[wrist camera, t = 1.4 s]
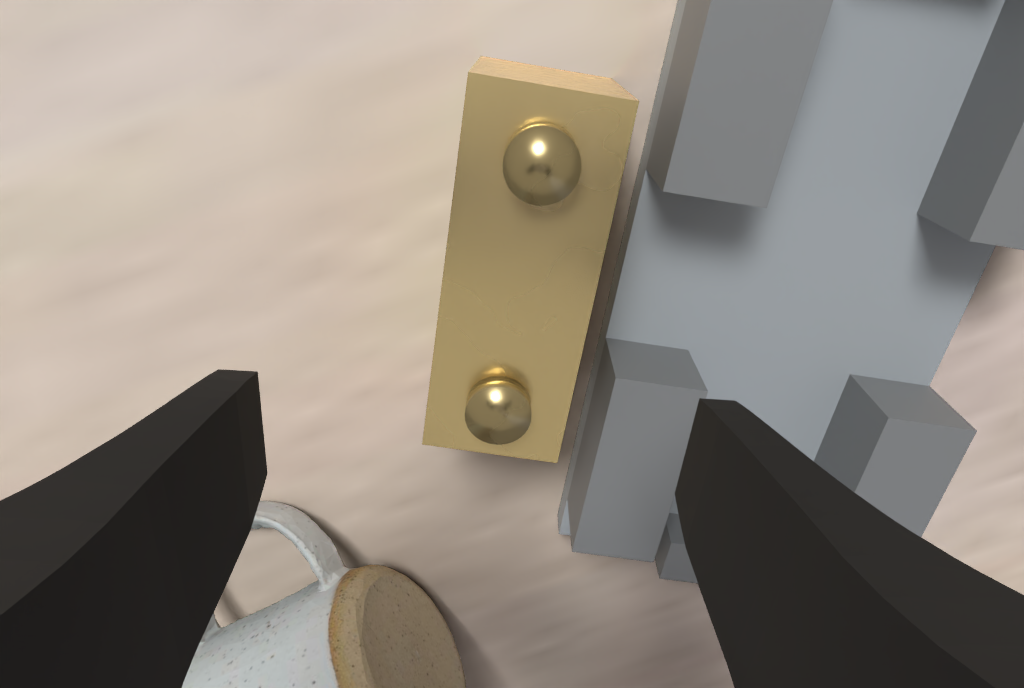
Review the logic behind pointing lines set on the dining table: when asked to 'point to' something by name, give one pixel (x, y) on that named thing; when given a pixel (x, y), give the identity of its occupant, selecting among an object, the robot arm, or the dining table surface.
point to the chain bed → (802, 252)
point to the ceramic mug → (331, 628)
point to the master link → (524, 254)
